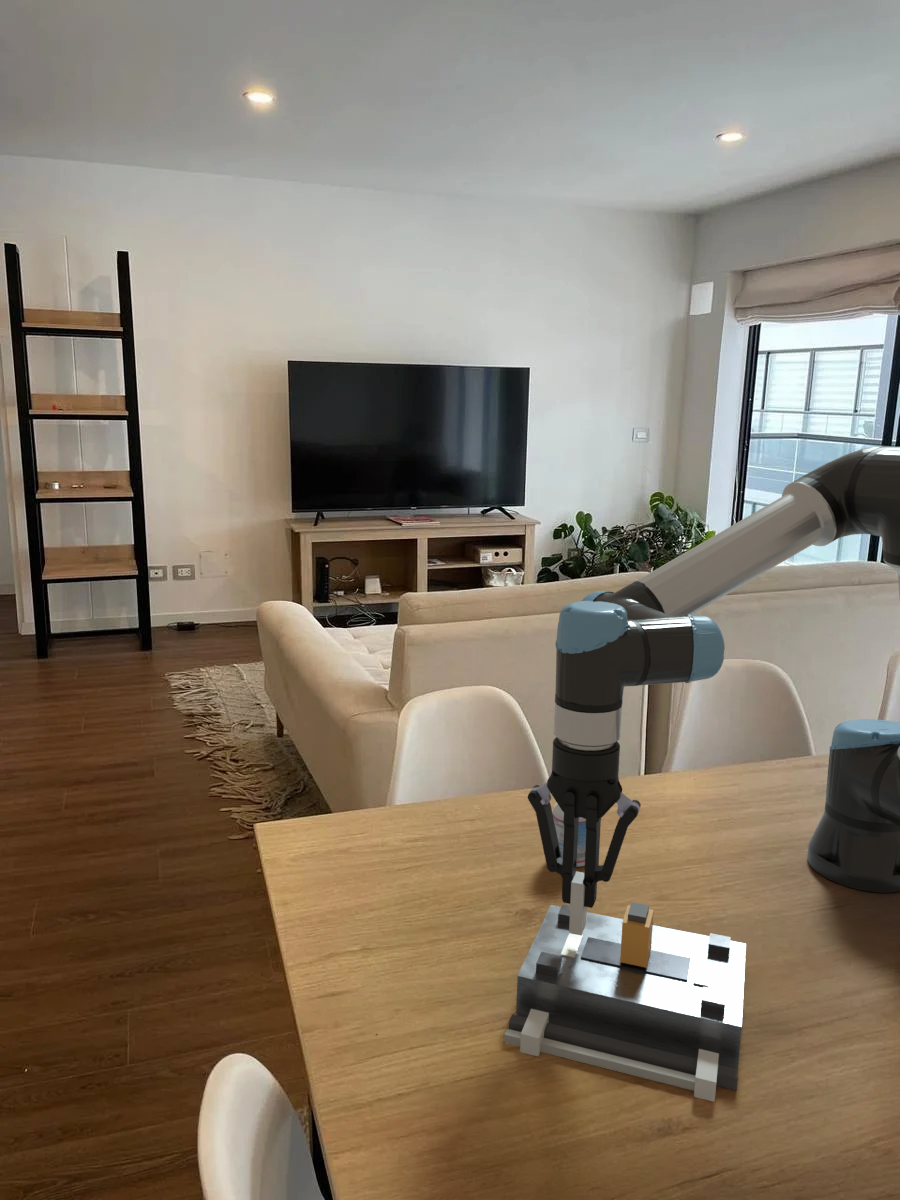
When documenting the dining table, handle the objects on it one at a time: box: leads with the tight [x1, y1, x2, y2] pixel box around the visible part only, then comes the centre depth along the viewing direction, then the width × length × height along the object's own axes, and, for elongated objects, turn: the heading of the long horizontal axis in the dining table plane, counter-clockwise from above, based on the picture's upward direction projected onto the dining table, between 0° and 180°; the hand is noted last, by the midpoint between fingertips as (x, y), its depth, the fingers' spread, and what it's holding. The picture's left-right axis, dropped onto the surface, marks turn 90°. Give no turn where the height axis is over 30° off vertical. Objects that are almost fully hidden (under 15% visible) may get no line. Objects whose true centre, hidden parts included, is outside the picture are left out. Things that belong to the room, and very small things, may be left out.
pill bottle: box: [552, 802, 586, 868], centre depth 135 cm, size 6×6×11 cm
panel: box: [515, 903, 747, 1070], centre depth 103 cm, size 24×16×6 cm, turn 70°
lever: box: [620, 901, 655, 968], centre depth 102 cm, size 3×4×6 cm
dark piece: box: [503, 1009, 739, 1103], centre depth 103 cm, size 24×26×2 cm
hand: (577, 928), depth 104 cm, fingers closed
